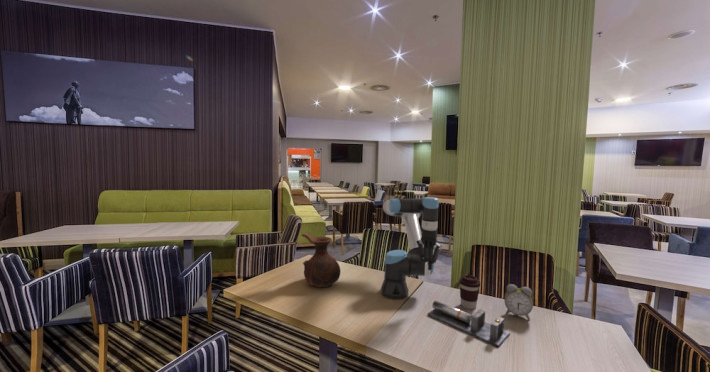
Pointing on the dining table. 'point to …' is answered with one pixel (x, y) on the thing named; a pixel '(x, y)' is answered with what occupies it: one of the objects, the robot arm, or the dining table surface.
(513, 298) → the alarm clock
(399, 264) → the robot arm
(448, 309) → the tube
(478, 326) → the grey holder stand
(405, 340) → the dining table surface
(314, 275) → the jug
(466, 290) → the coffee cup
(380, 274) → the dining table surface
